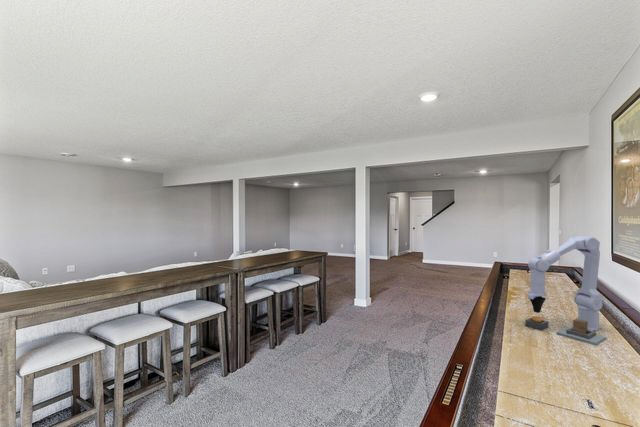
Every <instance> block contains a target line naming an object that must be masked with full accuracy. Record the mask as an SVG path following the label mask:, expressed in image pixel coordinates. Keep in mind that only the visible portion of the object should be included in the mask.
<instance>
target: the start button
mask: <svg viewBox="0 0 640 427" xmlns="http://www.w3.org/2000/svg"><path fill="white" fill-rule="evenodd" d="M531 318H532V321H535V322H538V323H542V320H543V317H540V316H535V315H533V316H531Z"/></svg>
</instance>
